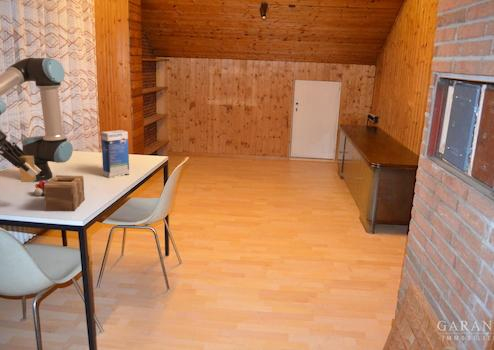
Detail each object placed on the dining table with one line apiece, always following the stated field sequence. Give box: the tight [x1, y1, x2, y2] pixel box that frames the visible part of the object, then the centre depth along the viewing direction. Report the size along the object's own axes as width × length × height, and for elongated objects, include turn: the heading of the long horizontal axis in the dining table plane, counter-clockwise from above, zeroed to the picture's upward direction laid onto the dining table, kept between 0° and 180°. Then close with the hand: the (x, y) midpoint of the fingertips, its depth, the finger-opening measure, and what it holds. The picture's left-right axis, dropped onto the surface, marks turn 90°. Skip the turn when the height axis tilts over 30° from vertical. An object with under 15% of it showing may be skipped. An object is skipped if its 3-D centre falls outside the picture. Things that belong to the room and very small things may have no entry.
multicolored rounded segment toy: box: [33, 179, 49, 197], centre depth 207 cm, size 8×10×7 cm
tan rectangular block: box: [19, 156, 36, 183], centre depth 185 cm, size 4×5×11 cm
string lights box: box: [100, 129, 130, 179], centre depth 244 cm, size 13×8×26 cm, turn 137°
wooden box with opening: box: [43, 174, 85, 212], centre depth 191 cm, size 16×12×12 cm
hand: (37, 173), depth 185 cm, fingers closed on tan rectangular block, 3 cm apart
